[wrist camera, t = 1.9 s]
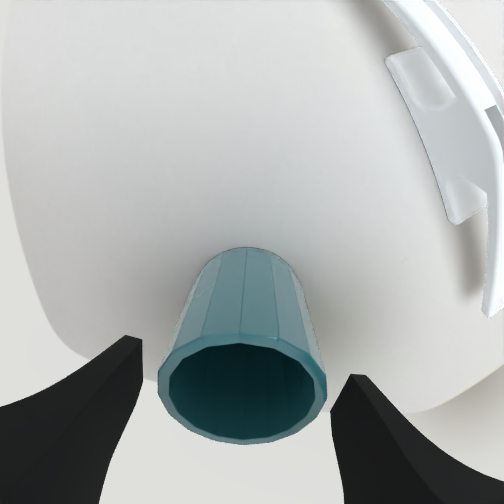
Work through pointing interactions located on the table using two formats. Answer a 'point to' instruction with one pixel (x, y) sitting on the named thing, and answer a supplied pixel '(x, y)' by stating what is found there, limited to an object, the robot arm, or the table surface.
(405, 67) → the t-shaped cleat
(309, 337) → the cup
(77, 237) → the table surface
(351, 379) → the robot arm
